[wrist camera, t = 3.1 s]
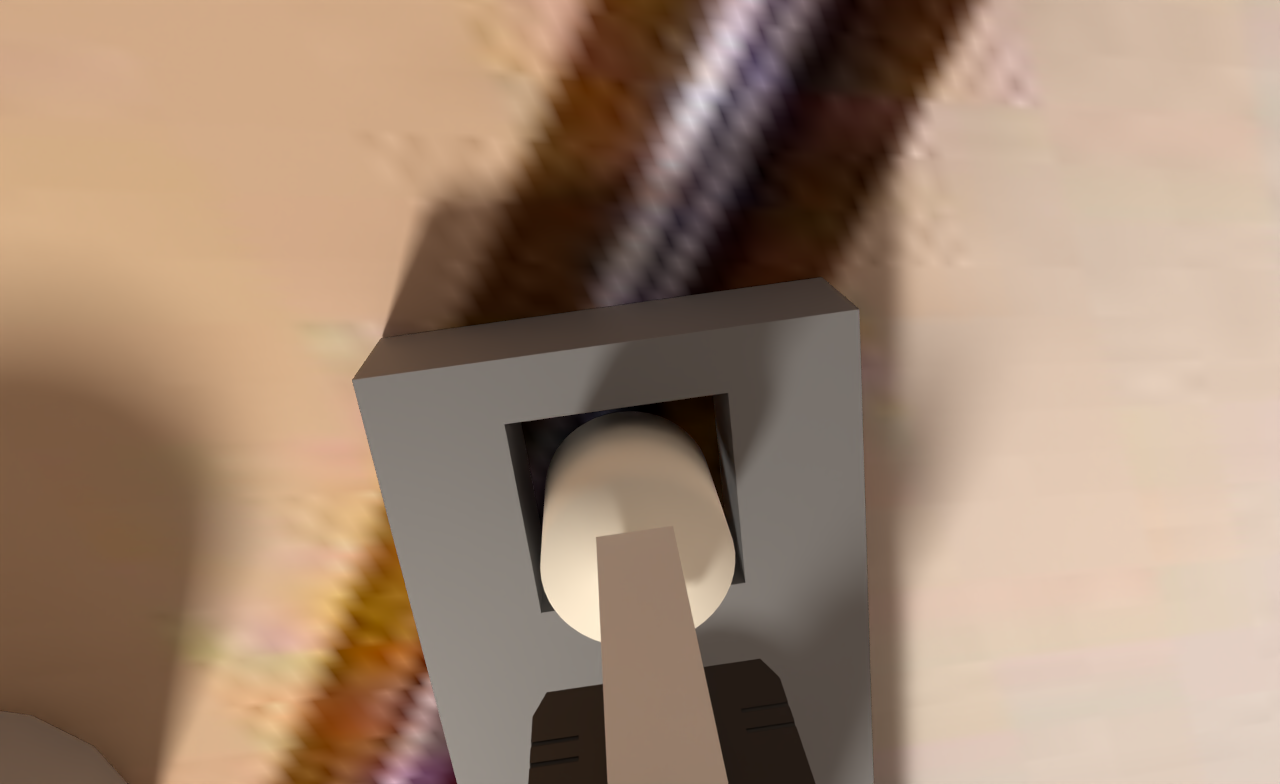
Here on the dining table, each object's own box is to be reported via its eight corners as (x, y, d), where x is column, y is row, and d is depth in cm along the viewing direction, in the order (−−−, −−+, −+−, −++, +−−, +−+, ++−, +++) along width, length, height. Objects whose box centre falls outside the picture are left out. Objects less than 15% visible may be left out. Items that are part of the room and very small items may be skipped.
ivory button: (532, 424, 20) (524, 493, 17) (701, 400, 20) (726, 464, 17) (558, 569, 22) (556, 660, 18) (716, 546, 22) (742, 632, 18)
